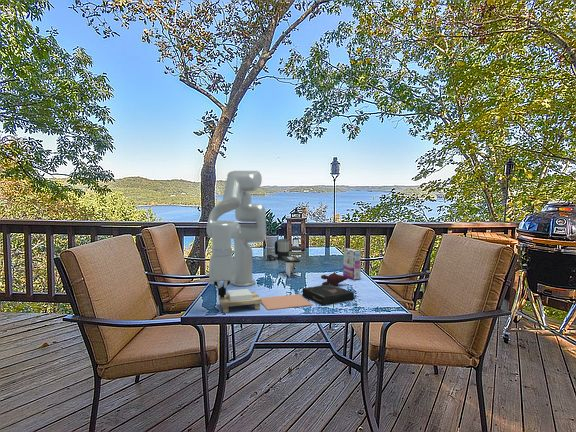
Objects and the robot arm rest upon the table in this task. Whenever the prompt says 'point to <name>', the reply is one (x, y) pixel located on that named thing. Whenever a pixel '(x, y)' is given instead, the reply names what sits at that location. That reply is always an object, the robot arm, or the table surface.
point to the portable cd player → (327, 294)
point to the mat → (284, 302)
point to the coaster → (239, 295)
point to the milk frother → (280, 249)
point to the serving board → (239, 302)
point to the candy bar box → (352, 263)
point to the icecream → (333, 279)
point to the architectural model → (290, 263)
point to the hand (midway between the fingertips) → (222, 296)
